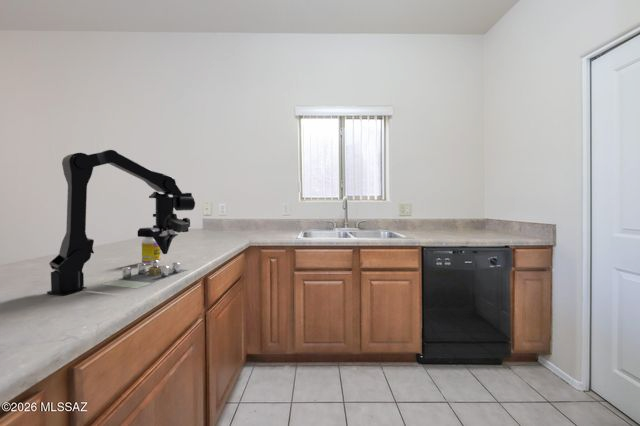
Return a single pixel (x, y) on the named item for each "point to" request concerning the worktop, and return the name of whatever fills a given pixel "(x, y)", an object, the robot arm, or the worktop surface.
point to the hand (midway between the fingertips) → (165, 253)
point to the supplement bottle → (150, 250)
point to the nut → (155, 271)
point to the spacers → (142, 267)
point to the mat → (140, 280)
